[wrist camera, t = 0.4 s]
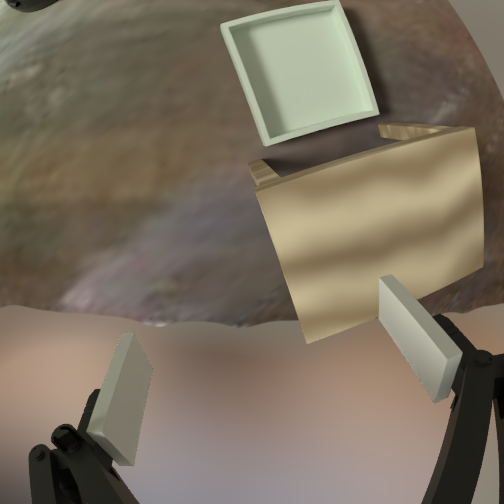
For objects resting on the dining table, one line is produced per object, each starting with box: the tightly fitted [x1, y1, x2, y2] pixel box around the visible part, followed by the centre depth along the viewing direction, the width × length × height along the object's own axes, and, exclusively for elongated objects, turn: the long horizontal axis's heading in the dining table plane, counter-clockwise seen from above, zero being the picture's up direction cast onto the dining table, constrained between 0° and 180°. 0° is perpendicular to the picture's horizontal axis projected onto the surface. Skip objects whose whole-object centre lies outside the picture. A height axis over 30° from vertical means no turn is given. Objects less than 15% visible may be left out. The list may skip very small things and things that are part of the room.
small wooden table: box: [248, 122, 484, 344], centre depth 33 cm, size 15×21×17 cm
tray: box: [220, 0, 379, 146], centre depth 33 cm, size 16×15×3 cm
